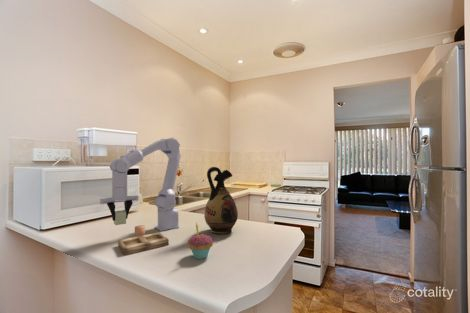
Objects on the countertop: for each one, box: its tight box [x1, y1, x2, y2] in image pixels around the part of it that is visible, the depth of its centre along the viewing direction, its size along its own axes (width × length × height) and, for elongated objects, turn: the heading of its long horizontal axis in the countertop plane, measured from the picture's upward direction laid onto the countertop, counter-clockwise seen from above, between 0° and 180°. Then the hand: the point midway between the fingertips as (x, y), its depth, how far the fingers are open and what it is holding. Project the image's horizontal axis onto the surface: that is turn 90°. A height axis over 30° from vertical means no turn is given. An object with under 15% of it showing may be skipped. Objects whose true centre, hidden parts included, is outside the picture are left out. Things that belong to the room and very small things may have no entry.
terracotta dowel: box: [134, 224, 146, 237], centre depth 98 cm, size 4×4×5 cm
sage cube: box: [113, 209, 127, 226], centre depth 97 cm, size 4×4×5 cm
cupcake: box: [187, 222, 214, 260], centre depth 80 cm, size 9×8×12 cm
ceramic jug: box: [203, 166, 239, 235], centre depth 107 cm, size 17×15×30 cm
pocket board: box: [117, 231, 170, 256], centre depth 90 cm, size 16×11×2 cm
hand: (120, 219), depth 97 cm, fingers closed on sage cube, 4 cm apart
